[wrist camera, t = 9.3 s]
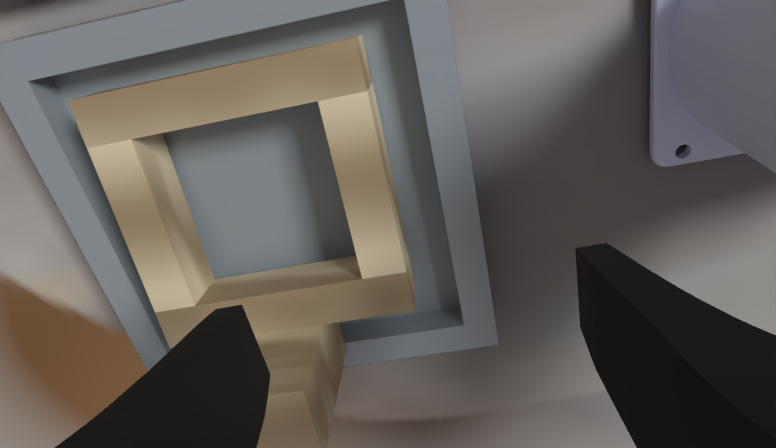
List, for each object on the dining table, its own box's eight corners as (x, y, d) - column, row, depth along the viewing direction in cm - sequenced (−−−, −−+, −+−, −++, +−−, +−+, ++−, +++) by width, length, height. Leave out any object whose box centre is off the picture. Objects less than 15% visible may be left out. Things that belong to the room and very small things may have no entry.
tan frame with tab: (426, 338, 21) (429, 443, 16) (210, 370, 23) (150, 477, 17) (362, 34, 17) (338, 47, 12) (102, 90, 18) (-19, 124, 13)
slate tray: (435, -60, 17) (438, -59, 15) (492, 313, 23) (498, 344, 22) (13, 39, 19) (-28, 50, 17) (176, 360, 25) (159, 392, 23)
